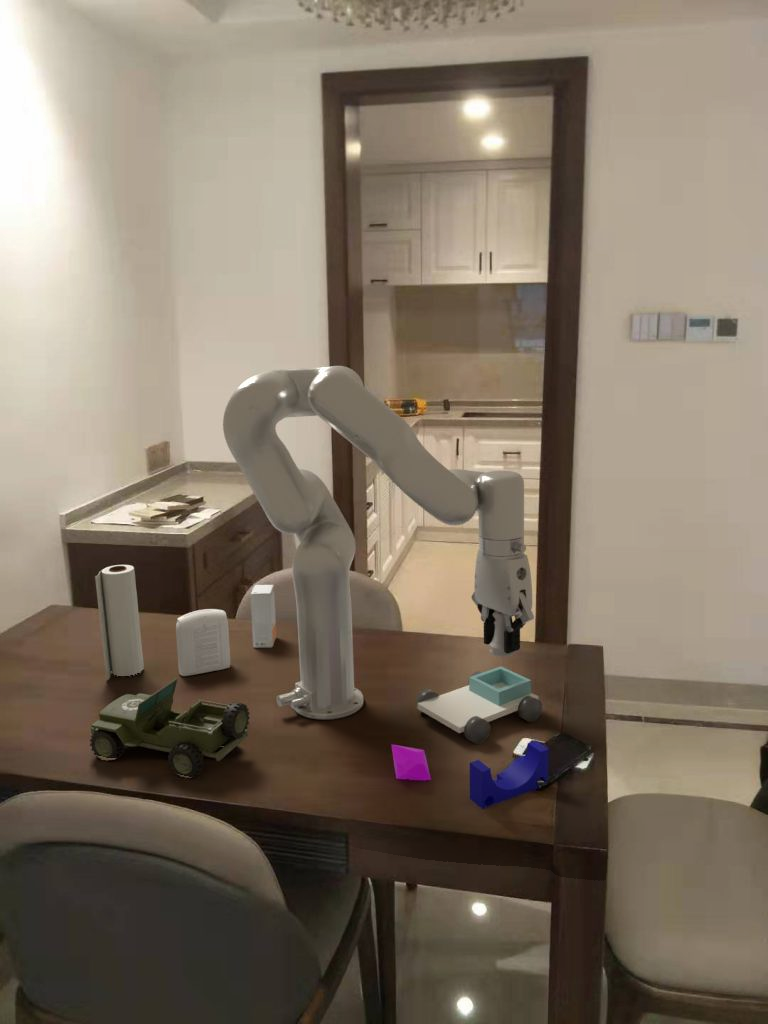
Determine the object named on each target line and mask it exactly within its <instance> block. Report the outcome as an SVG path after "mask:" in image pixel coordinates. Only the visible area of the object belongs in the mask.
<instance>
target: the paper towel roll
mask: <svg viewBox="0 0 768 1024" xmlns="http://www.w3.org/2000/svg"><path fill="white" fill-rule="evenodd" d="M135 573H136V572H135V566H133V565H130V564H116V565H110V566H107V567H105V568H103V569H101V570H100V571H99V572H98V574H97V575H95V576H94V578H95V587H96V598H97V599H96V600H97V605H98V606H97V607H98V614H99V615H98V617H99V625H100V626H99V627H100V636H101V643H102V644H101V645H102V652H103V661H104V671H105V672H104V673H105V680H106V679H107V678H108V677H109V676H110V677H111V675H110V673H111V671H112V673H111V674H114V675H113V676H115V675H117V676H116V677H118V676H129V677H131V676H130V675H133V676H136V675H138V674H137V673H139V674H141V673H142V672H143V671H144V668H145V667H144V657H143V655H144V654H143V648H142V647H143V646H142V635H141V625H140V616H139V615H140V614H139V605H138V604H139V603H138V593H137V585H136V574H135ZM142 670H143V671H142ZM141 671H142V672H141ZM135 674H136V675H135ZM110 677H109V678H110ZM107 680H108V679H107Z"/></svg>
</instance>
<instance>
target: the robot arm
mask: <svg viewBox="0 0 768 1024" xmlns="http://www.w3.org/2000/svg"><path fill="white" fill-rule="evenodd" d="M298 417H299V418H301V417H319V418H320V419H321V420H322V421H323V422H325V423H326V424H327V425H328V426H330V427H331V429H333V430H334V431H336V432H337V433H338V434H339V435H340V436H342V437H343V438H344V439H346V440H347V441H348V442H349V443H351V444H352V445H353V446H354V447H356V449H358V450H359V451H360V452H362V453H363V455H365V456H366V457H368V458H369V459H370V460H371V461H372V462H373V463H374V464H375V465H376V466H377V467H378V468H379V470H380V471H381V472H382V473H383V474H384V475H385V476H387V477H388V478H389V480H391V481H392V483H394V484H395V485H396V487H398V488H399V489H400V490H401V491H402V492H403V493H404V494H405V495H406V496H407V497H408V498H409V499H411V500H412V501H413V502H414V503H415V504H417V506H420V508H422V510H424V511H425V512H426V513H428V514H429V515H430V516H432V517H433V518H434V519H436V520H437V521H439V522H441V523H443V524H445V525H448V526H460V525H464V524H466V523H467V522H469V521H470V520H471V519H472V518H473V517H474V516H475V514H476V512H477V513H478V514H477V515H478V550H477V553H476V559H475V567H474V568H475V569H474V586H473V587H474V592H473V593H472V595H471V600H472V601H473V603H474V604H475V606H476V608H477V610H478V611H479V613H480V620H481V622H482V623H483V644H485V645H490V642H491V641H492V638H493V637H494V632H495V624H494V622H495V618H494V616H493V613H494V612H495V610H496V611H498V612H501V613H504V616H505V622H506V628H507V630H506V631H504V652H505V653H507V654H508V653H511V652H514V651H515V652H516V651H519V650H520V649H521V629H523V628H524V626H525V625H526V624H527V623H530V622H531V621H533V620H534V619H535V616H534V613H533V611H532V608H533V588H532V573H531V567H530V562H529V557H528V555H527V554H525V552H526V550H527V546H526V545H525V481H524V478H523V476H522V475H521V474H520V473H518V472H515V471H511V470H492V471H487V472H485V471H474V470H470V469H469V470H468V469H460V468H459V469H458V468H457V469H455V468H454V469H453V468H452V469H448V468H446V467H445V466H444V465H443V464H442V463H441V462H440V461H438V460H437V458H435V457H434V456H433V455H432V454H431V453H430V452H429V451H428V449H426V448H425V447H424V445H423V444H422V443H421V442H420V441H421V440H420V439H418V437H417V435H416V433H415V432H414V429H413V428H412V427H411V425H410V424H408V422H407V421H406V420H405V419H404V418H403V417H401V416H400V415H398V413H397V412H395V411H394V410H393V409H391V408H390V406H388V405H387V404H386V403H384V402H383V401H381V400H380V398H378V397H376V396H375V394H374V393H372V392H371V391H369V389H367V388H366V387H365V386H364V383H363V381H362V378H361V376H360V375H359V374H358V373H357V372H356V371H355V370H353V369H352V368H349V367H347V366H345V365H344V366H343V365H331V366H319V367H318V366H317V367H305V368H304V367H302V368H300V367H299V368H284V369H283V368H282V369H271V370H268V371H267V370H266V371H264V372H261V373H258V374H255V375H253V376H251V377H249V378H247V379H246V380H245V381H243V382H242V383H241V384H240V385H238V387H237V388H236V389H235V391H234V392H233V393H232V395H231V396H230V398H229V400H228V402H227V404H226V407H225V409H224V412H223V418H222V419H223V420H222V422H223V423H222V428H223V429H222V430H223V435H224V439H225V442H226V444H227V447H228V449H229V451H230V454H231V455H232V457H233V458H234V460H235V462H236V463H237V466H238V467H239V469H240V470H241V473H242V474H243V476H244V477H245V479H246V482H247V483H248V485H249V487H250V488H251V491H252V492H253V494H254V496H255V498H256V500H257V501H258V503H259V505H260V506H261V507H262V510H263V512H264V513H265V516H266V518H267V519H268V521H269V522H270V524H271V525H272V526H273V527H274V529H276V530H277V531H279V532H281V533H282V534H286V535H295V537H296V538H297V540H298V541H299V545H298V546H297V548H296V550H295V552H294V556H293V558H292V565H291V575H292V581H293V589H294V597H295V603H296V604H295V605H296V607H295V608H296V618H297V619H296V621H297V634H298V635H297V639H298V654H299V655H298V657H299V658H298V659H299V678H300V680H299V681H297V682H295V685H294V687H295V688H294V689H292V690H291V691H290V692H287V693H283V694H280V695H276V697H275V700H276V704H277V706H278V707H284V706H287V705H290V708H291V709H293V710H294V711H295V712H296V713H297V714H299V715H300V716H302V717H305V718H309V719H314V720H336V719H341V718H345V717H348V716H350V715H353V714H355V713H357V712H358V711H359V710H360V709H361V708H362V707H363V705H364V694H363V693H362V691H361V690H360V689H358V688H356V687H355V673H354V671H355V669H354V643H353V620H352V619H353V617H352V615H353V614H352V613H353V612H352V599H351V588H350V569H351V566H352V563H353V560H354V557H355V555H356V545H357V544H356V539H355V535H354V534H353V531H352V529H351V528H350V526H349V523H348V522H347V520H346V518H345V516H344V515H343V513H342V512H341V509H340V507H339V506H338V504H337V502H336V501H335V499H334V497H333V496H332V493H331V491H330V490H329V489H328V487H327V485H326V484H325V483H324V481H323V480H322V479H321V478H320V476H318V475H317V474H315V473H314V472H312V471H310V470H307V469H303V468H298V465H297V464H296V463H295V461H294V459H293V457H292V455H291V453H290V451H289V450H288V448H287V446H286V445H285V443H284V442H283V441H282V440H281V439H280V437H279V435H278V434H277V430H276V427H277V424H278V423H279V422H280V421H282V420H284V419H286V418H298ZM513 617H514V620H513ZM515 652H514V653H515Z"/></svg>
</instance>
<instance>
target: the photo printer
mask: <svg viewBox="0 0 768 1024" xmlns="http://www.w3.org/2000/svg"><path fill="white" fill-rule="evenodd" d="M175 623H176V624H175V625H176V626H175V635H176V650H177V661H178V662H177V663H178V673H179V675H181V676H182V677H188V676H195V675H199V674H205V673H210V672H214V671H220V670H225V669H229V668H230V667H231V651H230V650H231V649H230V634H229V633H230V632H229V620H228V616H227V613H226V611H225V610H222V609H217V608H205V609H198V610H195V611H192V612H191V611H190V612H188V613H185V614H183V615H181V616H180V617H179V616H178V618H176V622H175Z"/></svg>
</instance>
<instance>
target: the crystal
mask: <svg viewBox="0 0 768 1024" xmlns="http://www.w3.org/2000/svg"><path fill="white" fill-rule="evenodd" d="M390 747H391V751H392V758H393V766H394V771H395V772H394V773H395V778H396V779H397V780H406V779H409V780H408V781H426V780H431V781H432V778H431V774H430V769H429V765H428V761H427V757H426V756H427V755H426V753H425V750H424V749H421V748H415V747H408V746H402V745H398V744H391V746H390Z"/></svg>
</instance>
